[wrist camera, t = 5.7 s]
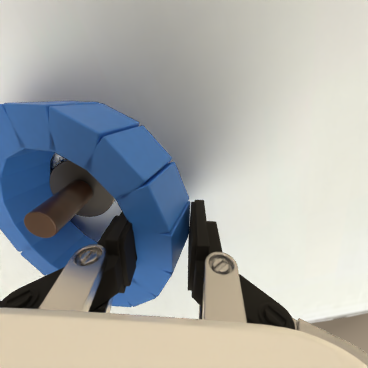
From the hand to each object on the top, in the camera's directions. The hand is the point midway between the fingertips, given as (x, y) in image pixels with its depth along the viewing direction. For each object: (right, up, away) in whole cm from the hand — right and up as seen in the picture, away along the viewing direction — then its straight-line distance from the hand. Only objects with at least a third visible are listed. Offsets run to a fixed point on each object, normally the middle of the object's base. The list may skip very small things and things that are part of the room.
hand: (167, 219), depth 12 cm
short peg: (-7, +2, +3) cm, 8 cm away
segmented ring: (-5, +1, +2) cm, 5 cm away
